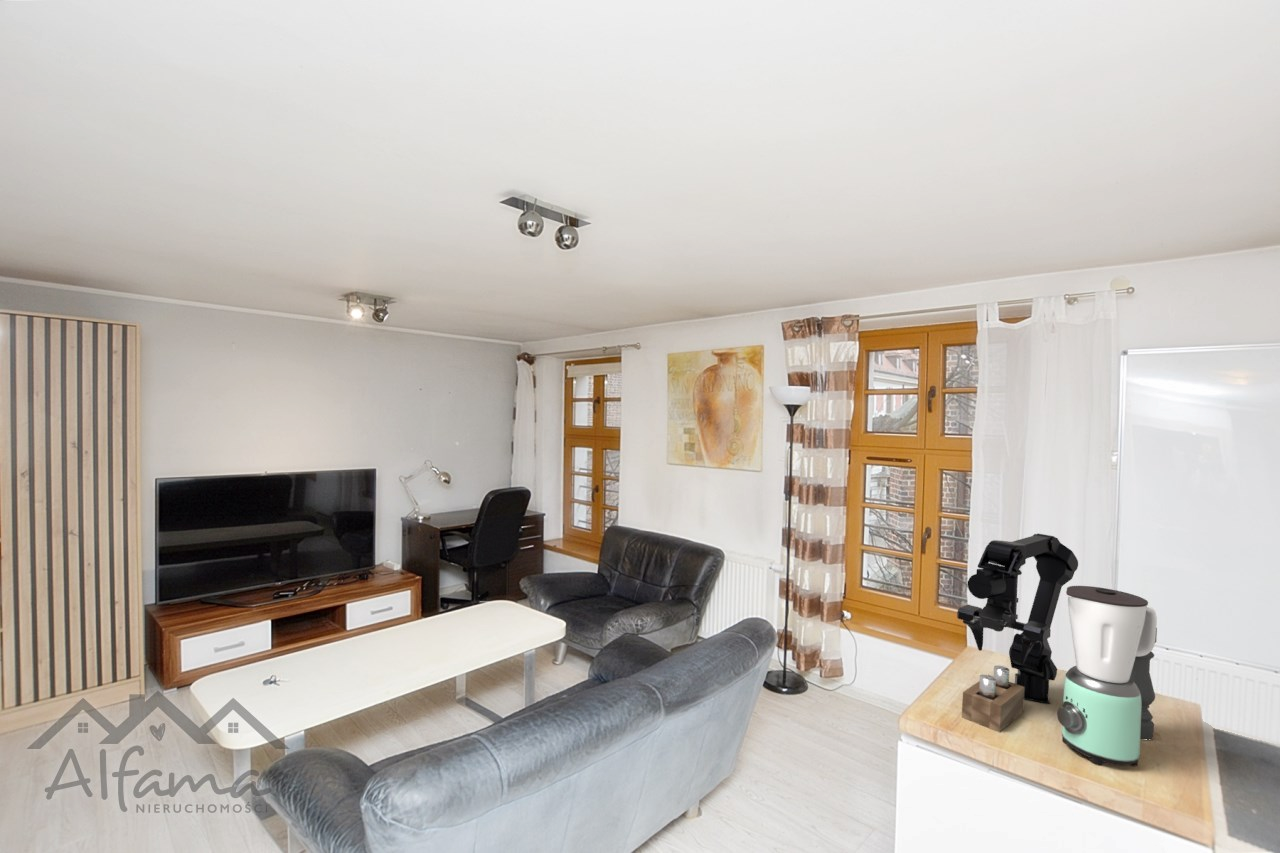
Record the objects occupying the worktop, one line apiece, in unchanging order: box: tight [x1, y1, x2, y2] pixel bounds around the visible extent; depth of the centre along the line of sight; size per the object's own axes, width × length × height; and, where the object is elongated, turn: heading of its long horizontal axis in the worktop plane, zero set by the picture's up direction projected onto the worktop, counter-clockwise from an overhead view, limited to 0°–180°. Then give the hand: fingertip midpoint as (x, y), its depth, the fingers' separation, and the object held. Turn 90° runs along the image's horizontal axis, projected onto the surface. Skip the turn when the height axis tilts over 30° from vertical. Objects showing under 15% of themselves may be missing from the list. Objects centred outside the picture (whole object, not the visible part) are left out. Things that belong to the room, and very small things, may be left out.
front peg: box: [979, 674, 996, 700], centre depth 134 cm, size 3×3×6 cm
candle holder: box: [1130, 627, 1158, 741], centre depth 131 cm, size 6×6×25 cm
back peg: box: [993, 665, 1010, 689], centre depth 140 cm, size 3×3×6 cm
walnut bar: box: [961, 674, 1025, 733], centre depth 137 cm, size 8×16×6 cm, turn 130°
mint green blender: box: [1056, 585, 1158, 767], centre depth 122 cm, size 19×13×35 cm
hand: (1000, 656), depth 140 cm, fingers open, 9 cm apart
